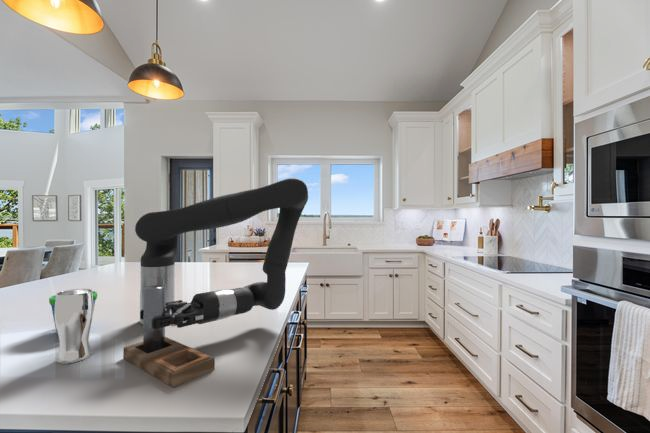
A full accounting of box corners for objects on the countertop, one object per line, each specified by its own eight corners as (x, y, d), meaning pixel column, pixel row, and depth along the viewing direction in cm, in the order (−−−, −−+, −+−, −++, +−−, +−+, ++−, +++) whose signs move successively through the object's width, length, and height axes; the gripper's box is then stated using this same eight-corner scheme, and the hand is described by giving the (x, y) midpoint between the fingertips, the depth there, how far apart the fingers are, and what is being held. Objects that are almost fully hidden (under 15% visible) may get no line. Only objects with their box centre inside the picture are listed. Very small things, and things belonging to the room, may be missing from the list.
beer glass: (68, 351, 77) (69, 288, 77) (99, 351, 77) (100, 288, 77) (45, 365, 70) (46, 295, 70) (80, 364, 70) (80, 295, 70)
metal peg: (139, 357, 74) (140, 287, 74) (158, 351, 78) (159, 284, 78) (149, 363, 71) (149, 290, 71) (168, 356, 75) (169, 287, 75)
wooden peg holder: (123, 358, 74) (123, 346, 74) (162, 345, 81) (162, 334, 81) (173, 387, 61) (173, 373, 61) (214, 369, 69) (214, 356, 69)
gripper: (202, 286, 90) (136, 296, 78) (227, 296, 80) (156, 309, 68) (202, 314, 90) (136, 327, 78) (227, 327, 80) (156, 345, 68)
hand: (146, 319), depth 73 cm, fingers open, 8 cm apart
